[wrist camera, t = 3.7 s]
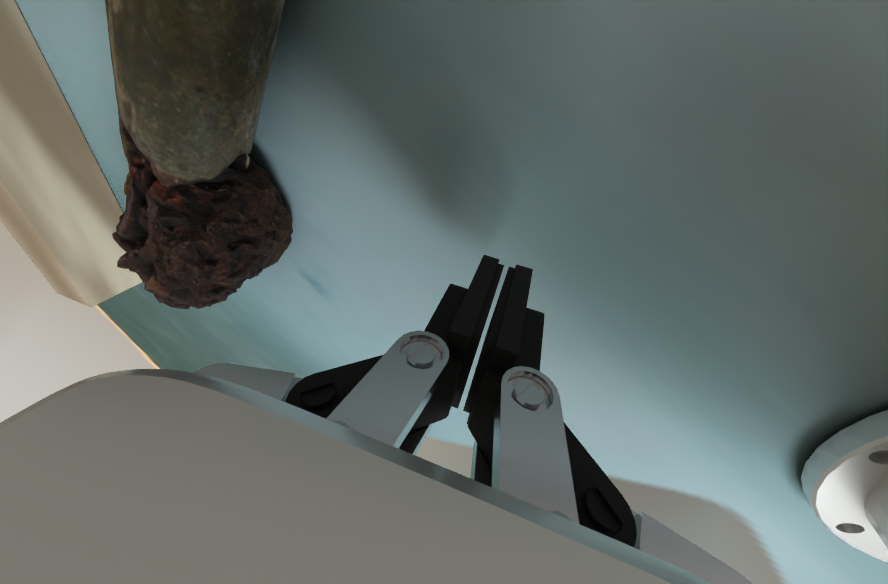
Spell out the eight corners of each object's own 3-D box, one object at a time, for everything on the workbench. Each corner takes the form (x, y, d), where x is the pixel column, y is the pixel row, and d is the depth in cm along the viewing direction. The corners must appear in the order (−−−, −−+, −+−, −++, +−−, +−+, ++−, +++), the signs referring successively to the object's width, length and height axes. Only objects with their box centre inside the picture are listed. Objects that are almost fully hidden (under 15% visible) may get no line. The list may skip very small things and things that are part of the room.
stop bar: (-78, -181, 11) (-330, -280, 8) (155, 275, 23) (91, 307, 20) (-133, -186, 12) (-391, -282, 8) (123, 264, 24) (56, 293, 21)
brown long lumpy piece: (202, -188, 9) (-146, -440, 5) (394, -24, 10) (253, -105, 5) (191, 239, 20) (85, 287, 15) (281, 301, 21) (205, 363, 16)
